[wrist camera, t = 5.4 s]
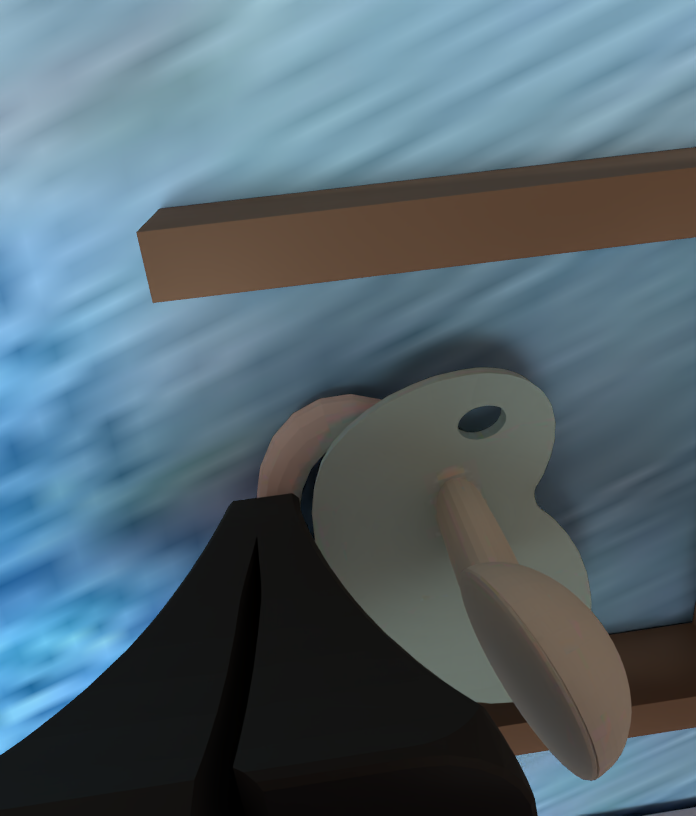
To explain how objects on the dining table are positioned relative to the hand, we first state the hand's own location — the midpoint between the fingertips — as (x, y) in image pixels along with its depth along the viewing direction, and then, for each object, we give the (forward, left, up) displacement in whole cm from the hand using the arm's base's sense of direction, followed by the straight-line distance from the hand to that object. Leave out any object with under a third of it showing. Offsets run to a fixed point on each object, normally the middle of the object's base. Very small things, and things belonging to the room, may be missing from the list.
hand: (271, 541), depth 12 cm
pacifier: (-1, -3, -1) cm, 3 cm away
